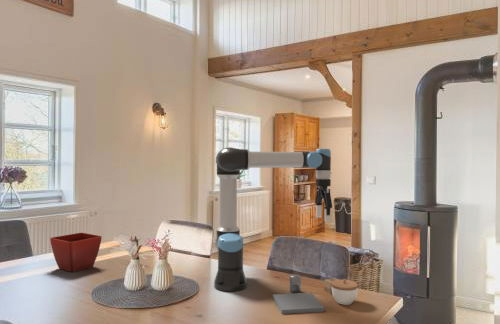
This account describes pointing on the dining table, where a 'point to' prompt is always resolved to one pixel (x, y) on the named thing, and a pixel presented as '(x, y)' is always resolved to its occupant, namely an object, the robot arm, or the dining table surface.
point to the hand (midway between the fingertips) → (323, 219)
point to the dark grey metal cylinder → (295, 283)
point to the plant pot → (75, 251)
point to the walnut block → (328, 285)
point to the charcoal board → (297, 303)
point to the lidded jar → (344, 291)
